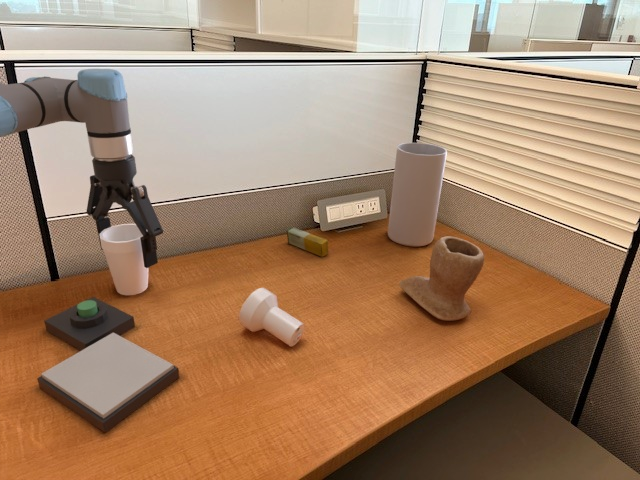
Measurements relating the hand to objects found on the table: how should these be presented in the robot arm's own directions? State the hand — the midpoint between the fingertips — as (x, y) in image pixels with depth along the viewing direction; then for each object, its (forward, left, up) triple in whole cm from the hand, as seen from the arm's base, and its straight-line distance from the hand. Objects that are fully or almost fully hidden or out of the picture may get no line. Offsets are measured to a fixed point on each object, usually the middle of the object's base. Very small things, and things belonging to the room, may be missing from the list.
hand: (128, 256), depth 100 cm
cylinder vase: (+39, +61, -8) cm, 73 cm away
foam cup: (0, 0, -8) cm, 8 cm away
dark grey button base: (+6, -14, -8) cm, 17 cm away
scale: (+21, -21, -8) cm, 31 cm away
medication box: (+20, +38, -8) cm, 43 cm away
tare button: (+6, -14, -4) cm, 16 cm away
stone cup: (+57, +33, -8) cm, 66 cm away
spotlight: (+34, +4, -8) cm, 35 cm away
